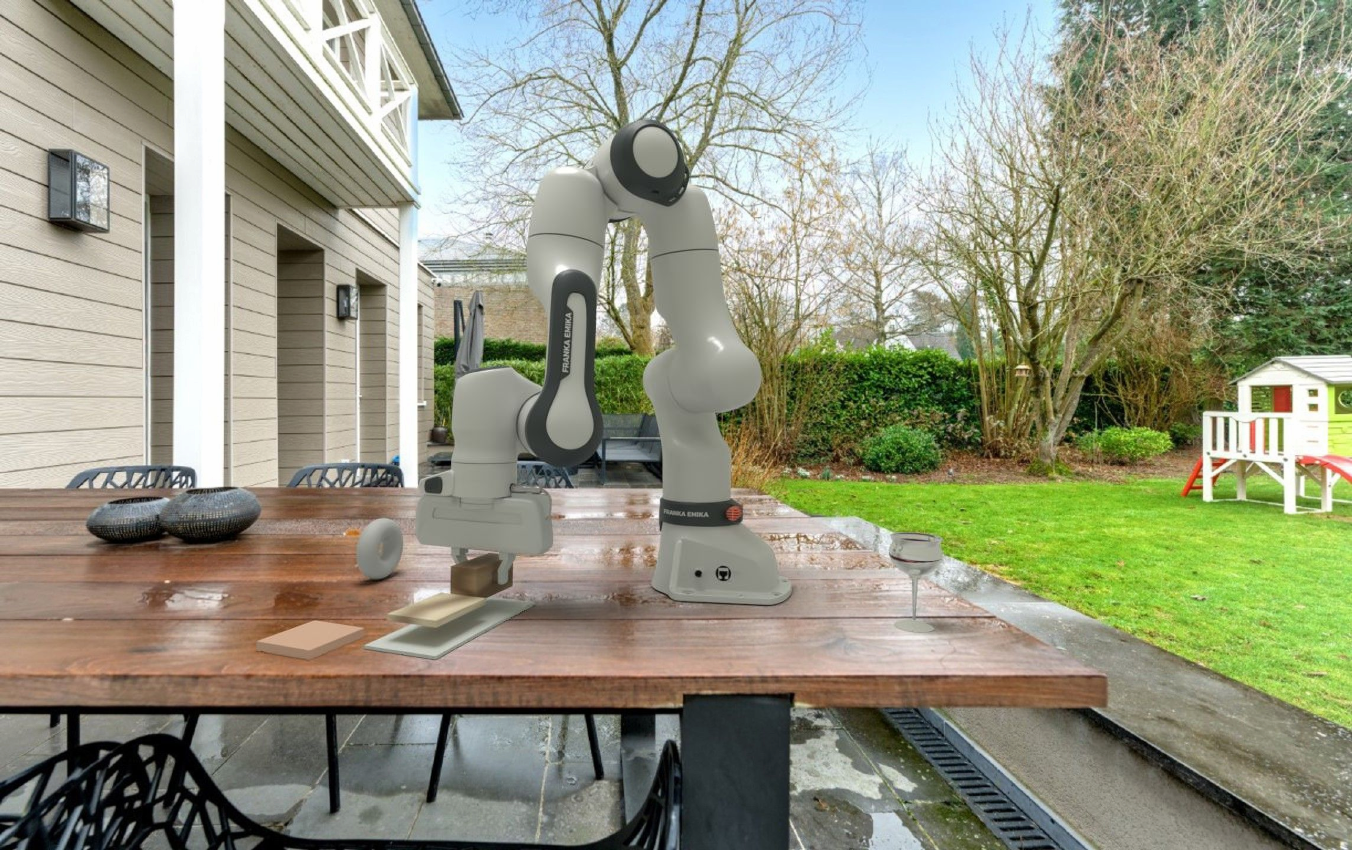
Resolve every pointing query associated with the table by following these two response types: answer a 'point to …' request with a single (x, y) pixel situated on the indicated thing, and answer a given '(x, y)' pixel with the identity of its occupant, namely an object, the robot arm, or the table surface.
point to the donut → (370, 545)
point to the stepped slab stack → (457, 593)
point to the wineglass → (915, 566)
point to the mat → (449, 630)
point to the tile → (310, 639)
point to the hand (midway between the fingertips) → (482, 581)
